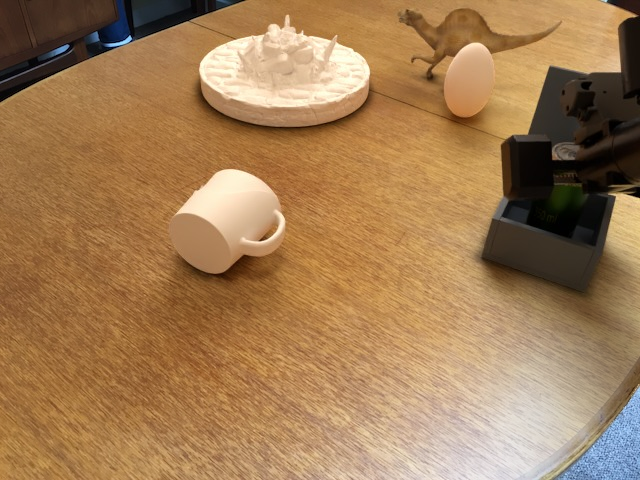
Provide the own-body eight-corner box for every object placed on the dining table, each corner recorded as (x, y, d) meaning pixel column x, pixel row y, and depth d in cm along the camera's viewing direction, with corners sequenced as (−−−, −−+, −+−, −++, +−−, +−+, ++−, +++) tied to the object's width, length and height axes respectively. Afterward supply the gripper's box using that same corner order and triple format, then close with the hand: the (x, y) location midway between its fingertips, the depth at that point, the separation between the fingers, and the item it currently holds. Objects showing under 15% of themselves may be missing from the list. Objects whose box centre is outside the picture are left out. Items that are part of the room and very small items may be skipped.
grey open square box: (584, 292, 65) (602, 253, 62) (480, 257, 69) (492, 218, 65) (599, 234, 73) (616, 196, 69) (506, 205, 77) (517, 167, 73)
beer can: (571, 235, 72) (606, 149, 64) (563, 262, 68) (599, 174, 60) (526, 221, 73) (554, 136, 66) (516, 246, 70) (545, 159, 62)
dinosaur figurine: (391, 66, 108) (400, -10, 100) (541, 89, 103) (565, 11, 95) (383, 84, 102) (392, 5, 94) (541, 109, 97) (566, 28, 89)
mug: (167, 258, 67) (157, 201, 62) (213, 213, 74) (207, 158, 68) (260, 293, 63) (257, 236, 58) (300, 242, 70) (301, 187, 65)
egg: (433, 120, 93) (446, 47, 86) (444, 100, 99) (458, 30, 91) (480, 131, 91) (498, 57, 84) (489, 110, 97) (507, 39, 89)
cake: (182, 120, 90) (174, 60, 84) (220, 47, 112) (216, -6, 105) (366, 134, 89) (372, 74, 83) (369, 57, 111) (374, 5, 104)
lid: (661, 91, 63) (661, 89, 63) (549, 66, 66) (550, 64, 67) (617, 194, 69) (617, 192, 69) (517, 165, 73) (518, 163, 73)
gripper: (737, 59, 53) (631, 111, 68) (533, 58, 51) (473, 111, 67) (748, 183, 52) (638, 207, 67) (541, 186, 50) (477, 210, 66)
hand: (557, 181), depth 67 cm, fingers open, 9 cm apart
